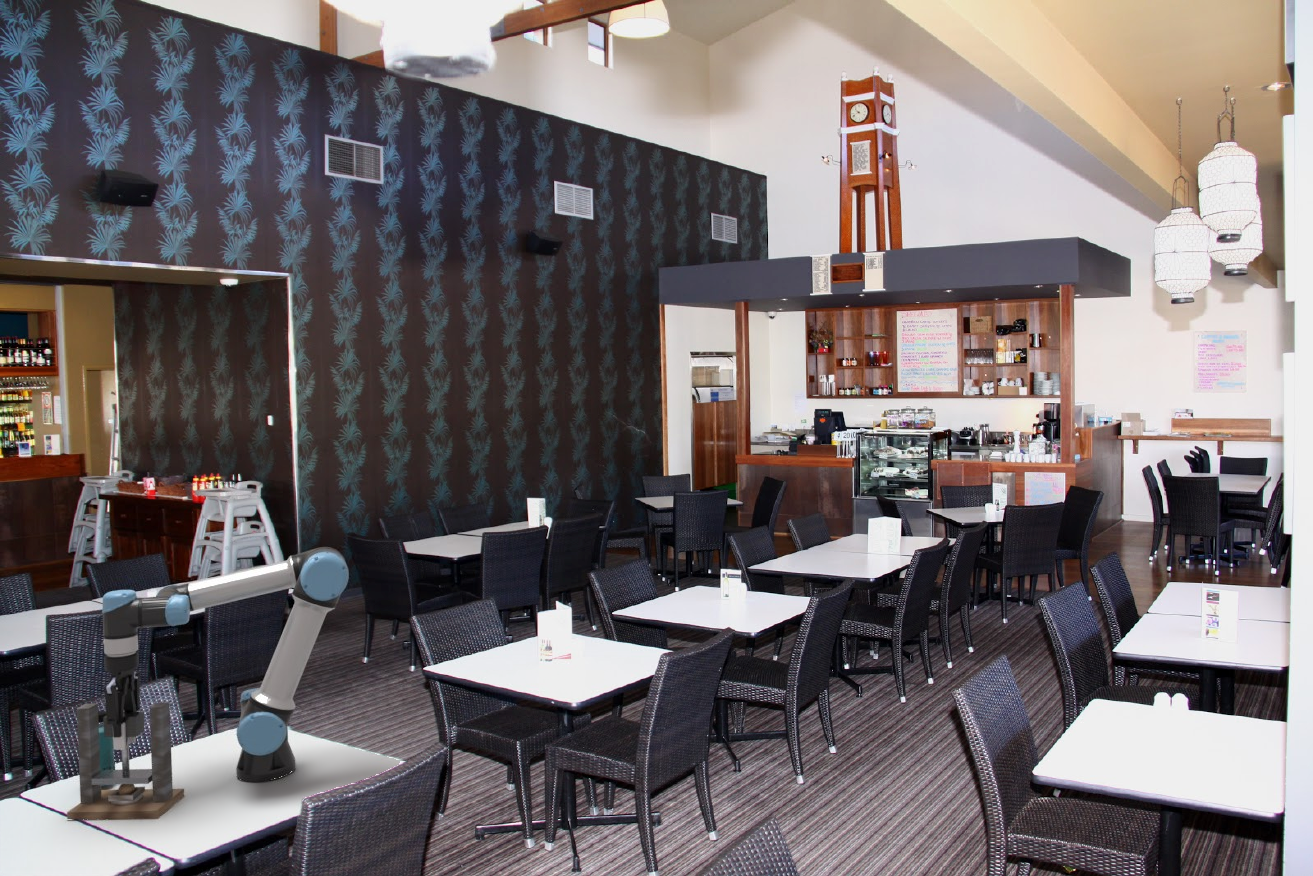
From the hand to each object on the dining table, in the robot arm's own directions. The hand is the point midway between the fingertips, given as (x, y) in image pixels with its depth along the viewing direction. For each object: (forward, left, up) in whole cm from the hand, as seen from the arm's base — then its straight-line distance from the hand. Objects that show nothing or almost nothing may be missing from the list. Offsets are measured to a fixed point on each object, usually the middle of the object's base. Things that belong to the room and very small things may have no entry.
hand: (125, 745), depth 253 cm
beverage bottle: (+14, -14, -16) cm, 25 cm away
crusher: (0, 0, -9) cm, 9 cm away
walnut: (0, 0, -11) cm, 11 cm away
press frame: (0, 0, -16) cm, 16 cm away
